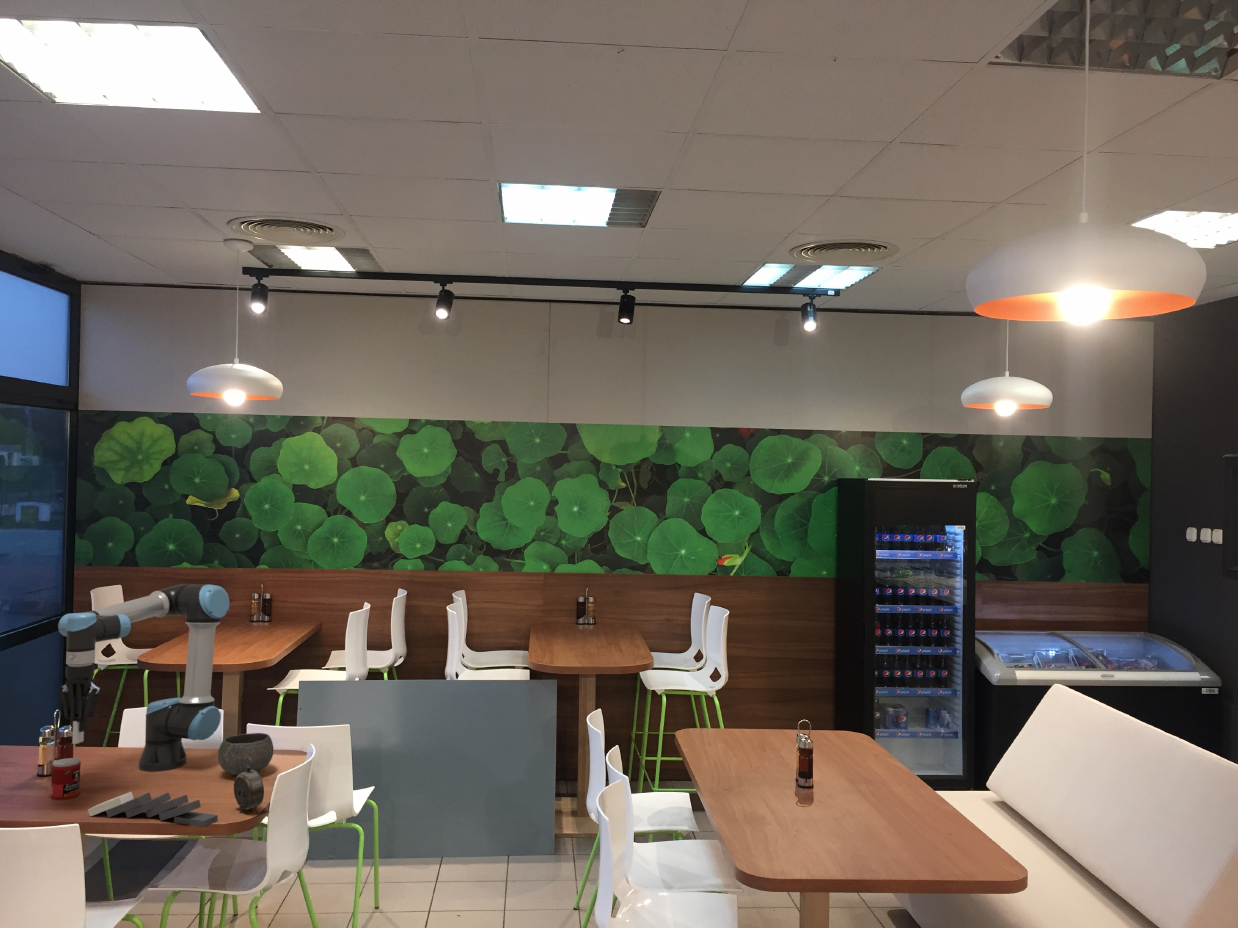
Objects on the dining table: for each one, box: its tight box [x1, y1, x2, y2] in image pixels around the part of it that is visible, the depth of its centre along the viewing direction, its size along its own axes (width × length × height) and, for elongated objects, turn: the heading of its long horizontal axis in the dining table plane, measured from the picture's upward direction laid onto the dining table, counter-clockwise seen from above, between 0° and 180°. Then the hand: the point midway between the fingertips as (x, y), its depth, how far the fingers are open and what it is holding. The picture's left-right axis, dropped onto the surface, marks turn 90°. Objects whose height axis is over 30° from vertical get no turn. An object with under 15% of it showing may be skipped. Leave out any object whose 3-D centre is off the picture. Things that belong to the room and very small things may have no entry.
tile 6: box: [173, 810, 219, 828], centre depth 257 cm, size 2×5×11 cm
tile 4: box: [145, 794, 190, 819], centre depth 260 cm, size 2×5×11 cm
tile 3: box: [124, 791, 172, 819], centre depth 261 cm, size 2×5×11 cm
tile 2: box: [105, 792, 152, 819], centre depth 261 cm, size 2×5×11 cm
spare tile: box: [87, 791, 135, 817], centre depth 262 cm, size 2×5×11 cm
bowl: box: [217, 732, 275, 777], centre depth 303 cm, size 18×18×13 cm
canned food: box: [50, 757, 82, 801], centre depth 278 cm, size 8×8×11 cm
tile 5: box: [158, 799, 202, 822], centre depth 258 cm, size 2×5×11 cm
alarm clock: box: [233, 758, 265, 815], centre depth 266 cm, size 11×5×16 cm, turn 50°
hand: (77, 742), depth 265 cm, fingers closed
